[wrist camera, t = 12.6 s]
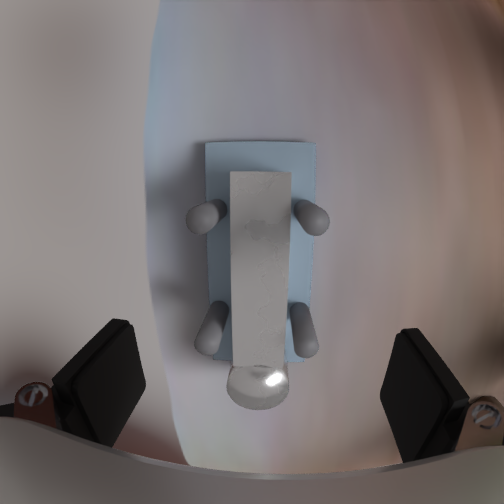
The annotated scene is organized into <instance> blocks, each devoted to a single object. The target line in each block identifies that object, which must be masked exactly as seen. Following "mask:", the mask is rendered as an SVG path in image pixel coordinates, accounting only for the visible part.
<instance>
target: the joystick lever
mask: <svg viewBox="0 0 504 504" xmlns="http://www.w3.org/2000/svg"><path fill="white" fill-rule="evenodd" d="M291 182H292V172H261V171H231V172H230V245H231V305H232V343H233V357H232V361H231V366H230V371H229V376H228V381H227V392H228V394H229V396H230V398H231V399H232V400H233V401H234V402H235V403H237V404H238V405H240V406H242V407H244V408H248V409H252V410H265V409H270V408H273V407H275V406H277V405H279V404H280V403H281V402H283V401H284V399H285V398H286V397H287V395H288V392H289V380H288V367H287V354H286V350H285V335H286V318H287V300H288V280H289V256H290V227H291Z"/></svg>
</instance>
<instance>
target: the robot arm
mask: <svg viewBox="0 0 504 504" xmlns="http://www.w3.org/2000/svg"><path fill="white" fill-rule="evenodd" d="M52 381H53V384H54V385H53V386H52V388H51V387H50V386H49V385H48V384H46V383H43V382H31V383H28V384H26V385H24V386H22V387H21V388H20V389H19V390H18V391H17V392H16V395H15V399H14V403H11V404H6V405H1V406H0V504H504V412H503V411H502V410H501V409H500V407H498V406H497V405H495V404H493V403H491V402H486V401H479V402H476V403H473V404H472V405H470V404H469V402H468V400H469V398H470V397H469V396H468V394H467V393H466V392H465V390H464V389H463V387H462V386H461V385H460V383H459V382H458V380H457V379H456V378H455V376H454V375H453V373H452V372H451V371H450V369H449V368H448V367H447V365H446V364H445V363H444V361H443V360H442V359H441V357H440V356H439V355H438V353H437V352H436V351H435V349H434V348H433V347H432V345H431V344H430V343H429V342H428V340H427V339H426V338H425V336H424V335H423V334H422V333H421V331H420V330H419V329H418V328H409V329H402V330H401V332H400V333H398V334H397V335H396V337H395V342H394V346H393V349H392V353H391V357H390V361H389V364H388V368H387V371H386V375H385V378H384V381H383V385H382V388H381V391H380V399H381V402H382V405H383V408H384V410H385V413H386V416H387V418H388V421H389V424H390V427H391V429H392V432H393V435H394V438H395V441H396V444H397V446H398V449H399V452H400V455H401V458H402V461H403V463H401V464H395V465H389V466H384V467H377V468H371V469H363V470H355V471H345V472H333V473H317V474H260V473H244V472H232V471H222V470H214V469H206V468H199V467H193V466H186V465H181V464H175V463H169V462H165V461H161V460H156V459H152V458H147V457H143V456H139V455H135V454H132V453H128V452H124V451H121V450H117V449H114V448H112V446H113V445H114V443H115V441H116V440H117V438H118V436H119V434H120V433H121V431H122V429H123V427H124V425H125V424H126V422H127V420H128V418H129V417H130V415H131V413H132V411H133V410H134V408H135V406H136V405H137V403H138V401H139V399H140V397H141V396H142V394H143V392H144V390H145V387H146V381H145V377H144V373H143V369H142V365H141V361H140V356H139V351H138V347H137V342H136V337H135V332H134V327H133V326H132V325H130V323H129V321H127V320H121V319H112V320H111V321H109V322H108V323H107V324H106V325H105V327H103V328H102V329H101V330H100V331H99V332H98V333H97V334H96V335H95V336H94V337H93V338H92V339H91V340H90V341H89V342H88V343H87V344H86V345H85V346H84V347H83V348H82V349H81V350H80V351H79V352H78V353H77V354H76V355H75V356H74V357H73V358H72V359H71V360H70V361H69V362H68V363H67V364H66V365H65V366H64V367H63V368H62V369H61V370H60V371H59V372H58V373H57V374H56V375H55V376H54V377H53V378H52Z"/></svg>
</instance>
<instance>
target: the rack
mask: <svg viewBox="0 0 504 504" xmlns="http://www.w3.org/2000/svg"><path fill="white" fill-rule="evenodd" d="M231 171H261V172H292V182H291V227H290V256H289V280H288V300H287V318H286V335H285V350H286V354H287V362H304V360H305V358H310V357H312V356H314V355H315V354H316V353H317V352H318V350H319V344H318V340H317V336H316V333H315V329H314V325H313V322H312V318H311V314H310V311H309V307H310V294H311V279H312V263H313V244H314V236H319V235H321V234H323V233H324V232H326V230H327V229H328V227H329V224H330V219H329V216H328V214H327V212H326V211H325V210H323V209H322V208H320V207H319V206H317V205H315V183H316V143H307V142H273V141H243V142H209V143H205V187H206V202H205V203H203V204H200V205H198V206H196V207H193V208H192V209H190V210H189V212H188V213H187V215H186V224H187V227H188V228H189V230H190V231H191V232H193V233H195V234H205V233H206V235H207V263H208V285H209V304H210V308H209V310H208V312H207V314H206V317H205V319H204V321H203V323H202V326H201V328H200V330H199V332H198V335H197V337H196V339H195V342H194V345H195V348H196V350H197V351H198V352H199V353H201V354H203V355H213V359H215V360H232V357H233V343H232V305H231V245H230V172H231Z"/></svg>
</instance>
